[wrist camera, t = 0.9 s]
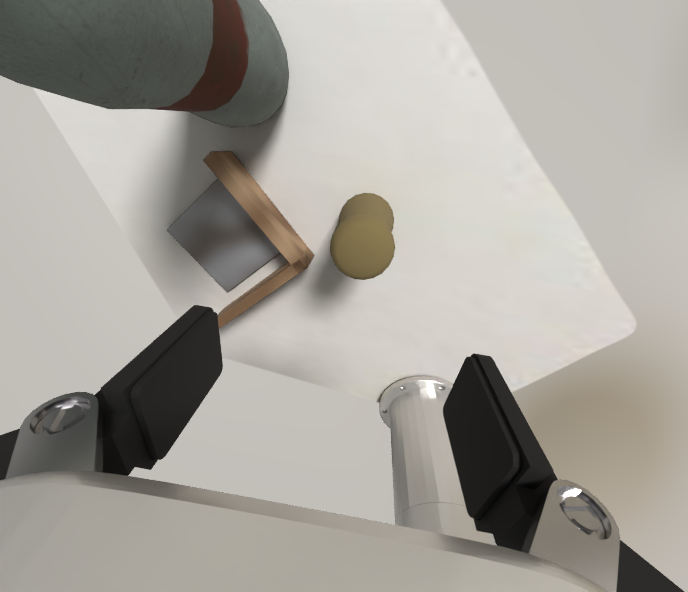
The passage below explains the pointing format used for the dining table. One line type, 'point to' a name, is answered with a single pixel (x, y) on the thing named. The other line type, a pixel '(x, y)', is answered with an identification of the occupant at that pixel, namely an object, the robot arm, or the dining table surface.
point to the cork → (364, 237)
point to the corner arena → (239, 234)
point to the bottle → (150, 55)
